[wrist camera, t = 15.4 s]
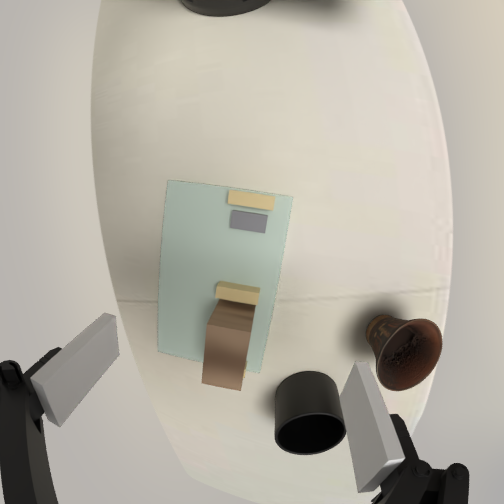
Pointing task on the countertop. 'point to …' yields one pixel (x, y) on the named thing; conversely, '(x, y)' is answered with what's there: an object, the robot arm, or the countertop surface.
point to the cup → (404, 350)
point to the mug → (308, 414)
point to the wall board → (218, 263)
